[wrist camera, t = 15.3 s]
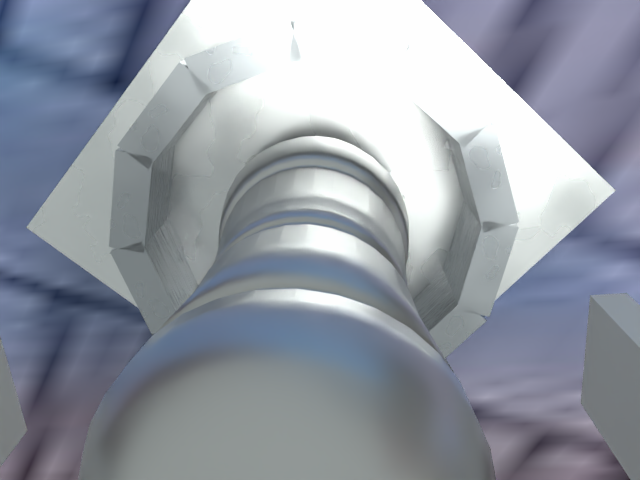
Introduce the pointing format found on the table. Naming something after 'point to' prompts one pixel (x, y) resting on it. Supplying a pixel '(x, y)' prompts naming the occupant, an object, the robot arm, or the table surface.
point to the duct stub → (328, 121)
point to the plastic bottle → (295, 345)
